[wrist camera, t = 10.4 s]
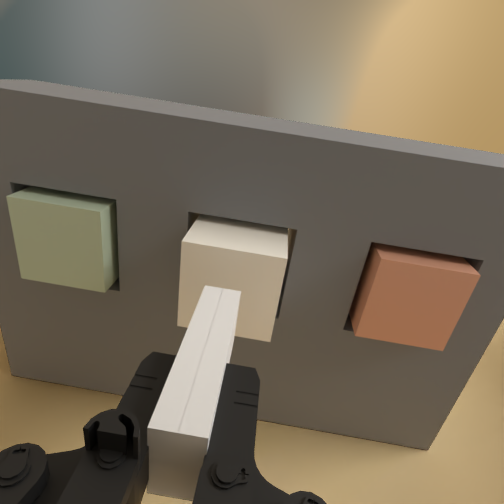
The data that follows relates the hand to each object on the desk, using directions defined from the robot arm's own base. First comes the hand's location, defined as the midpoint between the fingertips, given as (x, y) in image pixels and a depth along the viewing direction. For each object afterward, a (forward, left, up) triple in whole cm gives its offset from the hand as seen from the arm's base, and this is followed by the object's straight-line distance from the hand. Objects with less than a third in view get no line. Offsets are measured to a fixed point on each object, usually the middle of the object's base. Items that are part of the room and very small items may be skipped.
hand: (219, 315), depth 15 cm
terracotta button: (-11, -1, -2) cm, 11 cm away
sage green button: (+6, -9, -2) cm, 11 cm away
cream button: (-2, -4, -2) cm, 5 cm away
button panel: (-3, -5, -11) cm, 12 cm away
